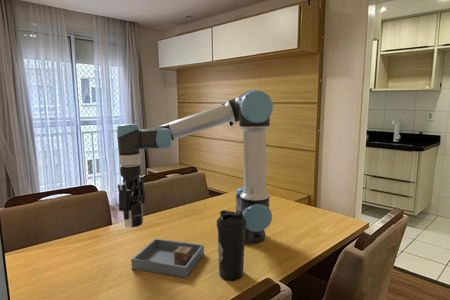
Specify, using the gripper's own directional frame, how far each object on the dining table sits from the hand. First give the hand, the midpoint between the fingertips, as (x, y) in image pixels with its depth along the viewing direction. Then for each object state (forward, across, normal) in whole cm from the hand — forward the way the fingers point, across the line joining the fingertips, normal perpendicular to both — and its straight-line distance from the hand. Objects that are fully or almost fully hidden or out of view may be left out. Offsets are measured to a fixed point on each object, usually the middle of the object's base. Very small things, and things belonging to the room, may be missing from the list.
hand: (134, 222), depth 116 cm
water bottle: (+15, +1, +39) cm, 42 cm away
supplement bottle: (+1, 0, 0) cm, 1 cm away
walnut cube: (+14, 0, +20) cm, 24 cm away
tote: (+14, 0, +14) cm, 20 cm away
